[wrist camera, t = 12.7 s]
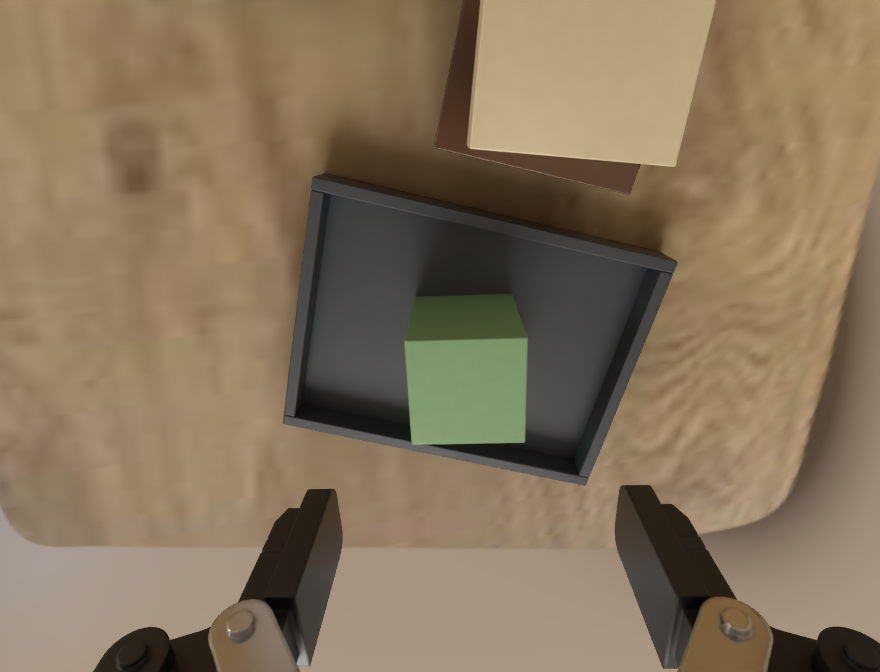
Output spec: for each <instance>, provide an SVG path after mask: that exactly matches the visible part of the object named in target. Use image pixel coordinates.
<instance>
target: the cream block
mask: <svg viewBox="0 0 880 672" xmlns="http://www.w3.org/2000/svg"><path fill="white" fill-rule="evenodd" d="M715 4H716V0H480V9H479V20H478V30H477V41H476V52H475V62H474V73H473V83H472V94H471V104H470V115H469V126H468V136H467V146H468V147H469V148H470V149H477V150H488V151H499V152H511V153H522V154H534V155H545V156H557V157H568V158H579V159H591V160H602V161H614V162H625V163H637V164H648V165H659V166H671V167H674V166H676V162H677V158H678V154H679V150H680V146H681V142H682V138H683V134H684V130H685V126H686V122H687V118H688V114H689V110H690V105H691V101H692V97H693V93H694V89H695V85H696V81H697V77H698V73H699V69H700V65H701V61H702V57H703V53H704V49H705V44H706V40H707V36H708V32H709V28H710V24H711V20H712V16H713V12H714V8H715Z"/></svg>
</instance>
